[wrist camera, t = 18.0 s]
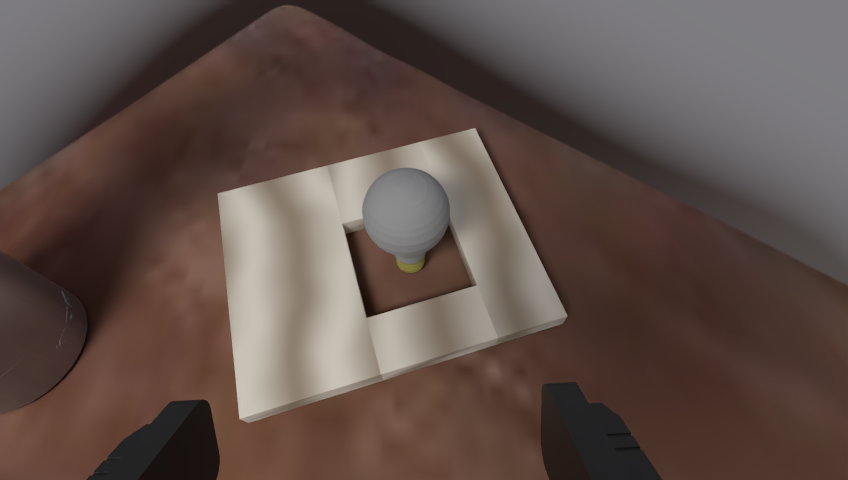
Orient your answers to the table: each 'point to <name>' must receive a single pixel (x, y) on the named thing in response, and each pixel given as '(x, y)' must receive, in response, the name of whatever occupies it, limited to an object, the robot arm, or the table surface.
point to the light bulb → (406, 215)
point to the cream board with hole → (338, 286)
